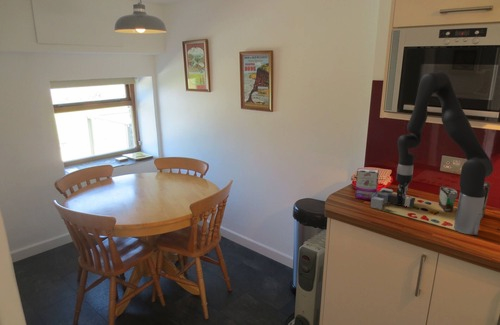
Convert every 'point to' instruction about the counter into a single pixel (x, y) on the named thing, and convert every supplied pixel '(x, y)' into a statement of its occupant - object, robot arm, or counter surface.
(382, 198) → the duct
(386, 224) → the counter surface
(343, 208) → the counter surface
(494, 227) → the counter surface
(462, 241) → the counter surface
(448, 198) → the food container
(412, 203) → the dark grey bar
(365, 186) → the candy bar box
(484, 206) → the coffee box
